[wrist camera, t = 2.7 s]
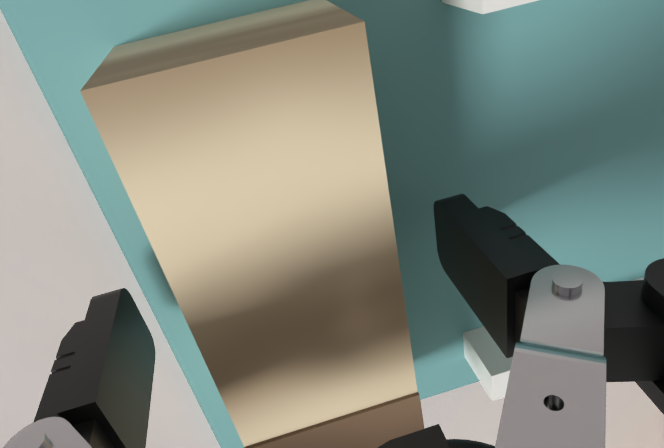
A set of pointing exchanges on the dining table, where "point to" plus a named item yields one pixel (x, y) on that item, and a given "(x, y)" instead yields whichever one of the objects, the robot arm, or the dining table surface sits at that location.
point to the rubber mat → (424, 140)
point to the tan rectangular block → (271, 217)
